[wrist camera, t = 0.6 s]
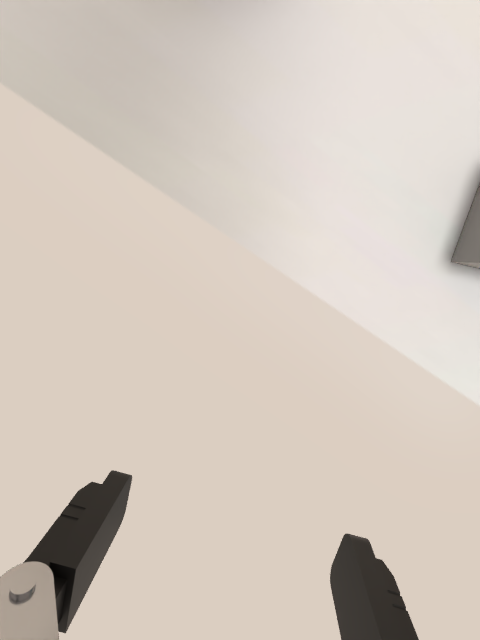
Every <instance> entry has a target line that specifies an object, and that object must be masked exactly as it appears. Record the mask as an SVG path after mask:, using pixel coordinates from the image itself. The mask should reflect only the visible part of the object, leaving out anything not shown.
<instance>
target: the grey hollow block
mask: <svg viewBox="0 0 480 640" xmlns="http://www.w3.org/2000/svg"><path fill="white" fill-rule="evenodd" d="M451 262H455V263H459V264H463V265H467V266H472V267H476V268H480V184H479V187H478V190H477V192H476V195H475V198H474V200H473V203H472V206H471V209H470V211H469V214H468V217H467V219H466V222H465V225H464V228H463V230H462V233H461V236H460V238H459V241H458V244H457V247H456V249H455V252H454V255H453V257H452V260H451Z"/></svg>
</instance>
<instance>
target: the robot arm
mask: <svg viewBox="0 0 480 640" xmlns="http://www.w3.org/2000/svg"><path fill="white" fill-rule="evenodd" d="M131 481H132V475H128V474H124V473H120V472H117V471H111V472H110V473H109V475H108V476H107V478H106V479H105V481H104V482H103V484H98V483H95V482H91V483H89V484H88V485H87V486H85V487H84V488H82V489H80V490H79V491H78V492H77V493H76V495H75V496H74V497H73V499H72V500H71V501H70V503H69V505H68V506H67V507H66V508H65V509H64V511H63V512H62V514H61V515H60V517H58V519H57V520H56V521H55V523H54V524H53V525H52V526H51V528H50V529H49V531H48V532H47V533H46V534H45V536H44V537H43V539H42V540H41V541H40V542H39V544H38V545H37V547H36V548H35V549H34V550H33V552H32V553H31V554H30V556H29V557H28V558H27V559H26V560H25V562H23V563H22V564H19V565H17V566H15V567H13V568H11V569H10V570H8V571H7V572H6V573H4V574H3V575H2V576H1V577H0V640H59V633H58V631H59V632H63V633H66V631H67V629H68V627H69V625H70V623H71V621H72V619H73V618H74V615H75V614H76V612H77V610H78V608H79V606H80V604H81V602H82V600H83V598H84V596H85V594H86V592H87V590H88V588H89V586H90V584H91V582H92V580H93V578H94V576H95V574H96V572H97V570H98V568H99V566H100V564H101V563H102V561H103V559H104V557H105V555H106V553H107V551H108V549H109V547H110V545H111V543H112V541H113V539H114V537H115V535H116V533H117V531H118V529H119V527H120V525H121V522H122V520H123V517H124V514H125V510H126V505H127V501H128V496H129V490H130V486H131ZM330 583H331V589H332V594H333V600H334V604H335V609H336V614H337V620H338V624H339V629H340V634H341V640H419V639H418V637H417V634H416V632H415V629H414V627H413V624H412V622H411V619H410V617H409V614H408V611H406V607H405V604H404V601H403V599H402V597H401V596H400V591H399V589H398V586H397V584H396V581H395V579H394V576H393V575H392V573H391V572H390V571H389V569H388V568H387V566H386V565H385V564H384V562H383V561H382V560H380V559H376V558H375V555H374V553H373V550H372V547H371V544H370V542H369V540H368V539H366V538H361V537H358V536H354V535H351V534H345V535H344V537H343V539H342V541H341V544H340V547H339V549H338V551H337V554H336V556H335V559H334V561H333V564H332V567H331V574H330Z"/></svg>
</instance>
